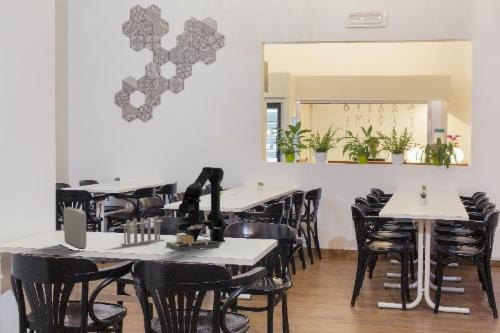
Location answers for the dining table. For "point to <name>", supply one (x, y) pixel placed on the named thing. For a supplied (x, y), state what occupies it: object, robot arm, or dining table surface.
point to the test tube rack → (142, 231)
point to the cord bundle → (198, 244)
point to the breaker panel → (176, 246)
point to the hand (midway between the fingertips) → (195, 242)
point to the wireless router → (75, 227)
